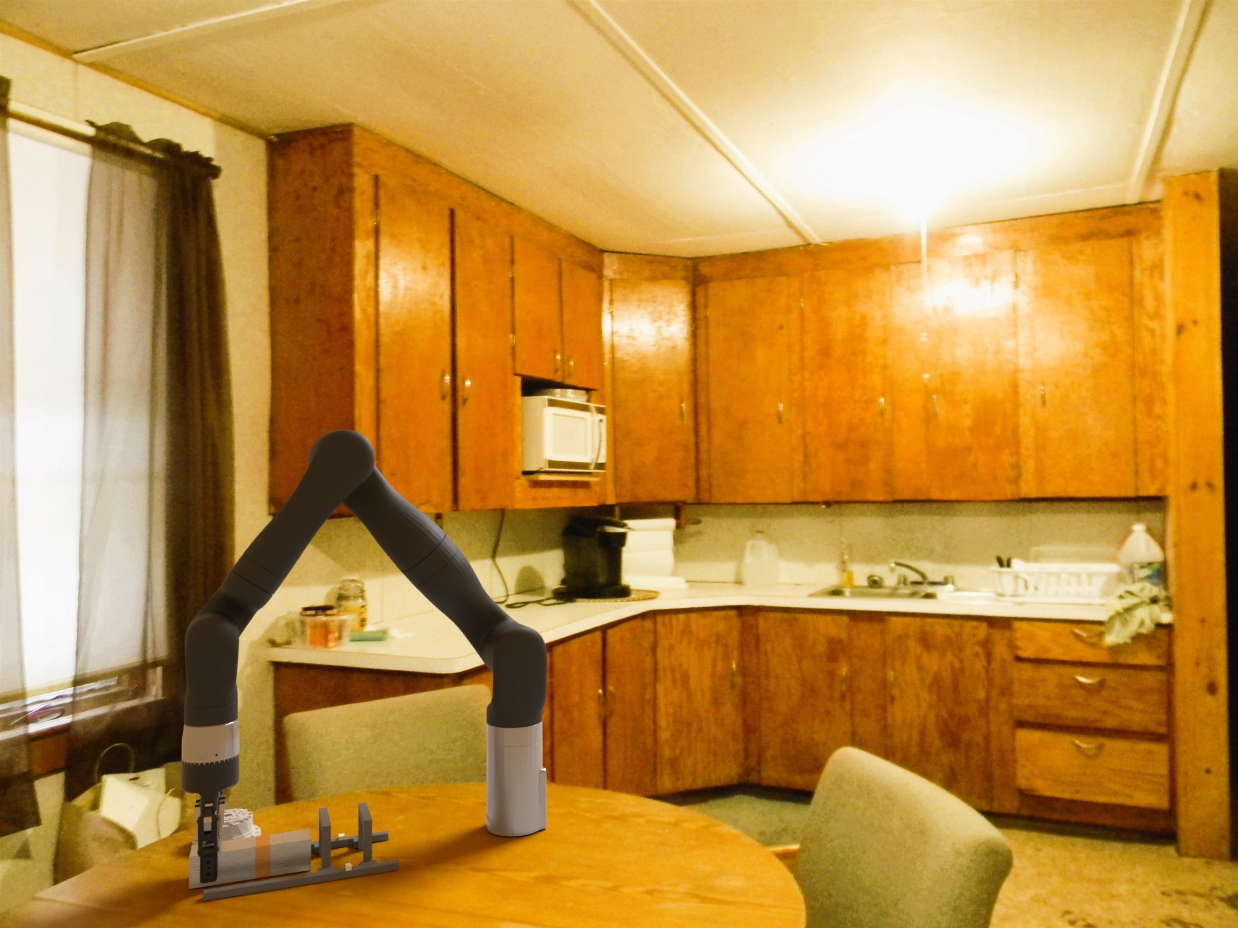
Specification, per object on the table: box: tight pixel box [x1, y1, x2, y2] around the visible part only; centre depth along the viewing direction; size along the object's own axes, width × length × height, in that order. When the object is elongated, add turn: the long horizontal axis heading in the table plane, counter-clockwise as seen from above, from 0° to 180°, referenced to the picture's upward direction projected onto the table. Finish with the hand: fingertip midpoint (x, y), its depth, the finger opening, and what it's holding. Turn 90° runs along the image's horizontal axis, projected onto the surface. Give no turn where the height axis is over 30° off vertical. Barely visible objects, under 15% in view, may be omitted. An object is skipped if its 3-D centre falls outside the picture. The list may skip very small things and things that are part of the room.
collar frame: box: [202, 801, 400, 902], centre depth 130 cm, size 26×14×7 cm, turn 112°
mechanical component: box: [191, 808, 262, 846], centre depth 140 cm, size 10×4×10 cm
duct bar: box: [188, 828, 312, 890], centre depth 127 cm, size 16×4×4 cm, turn 112°
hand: (209, 874), depth 125 cm, fingers closed on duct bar, 4 cm apart
